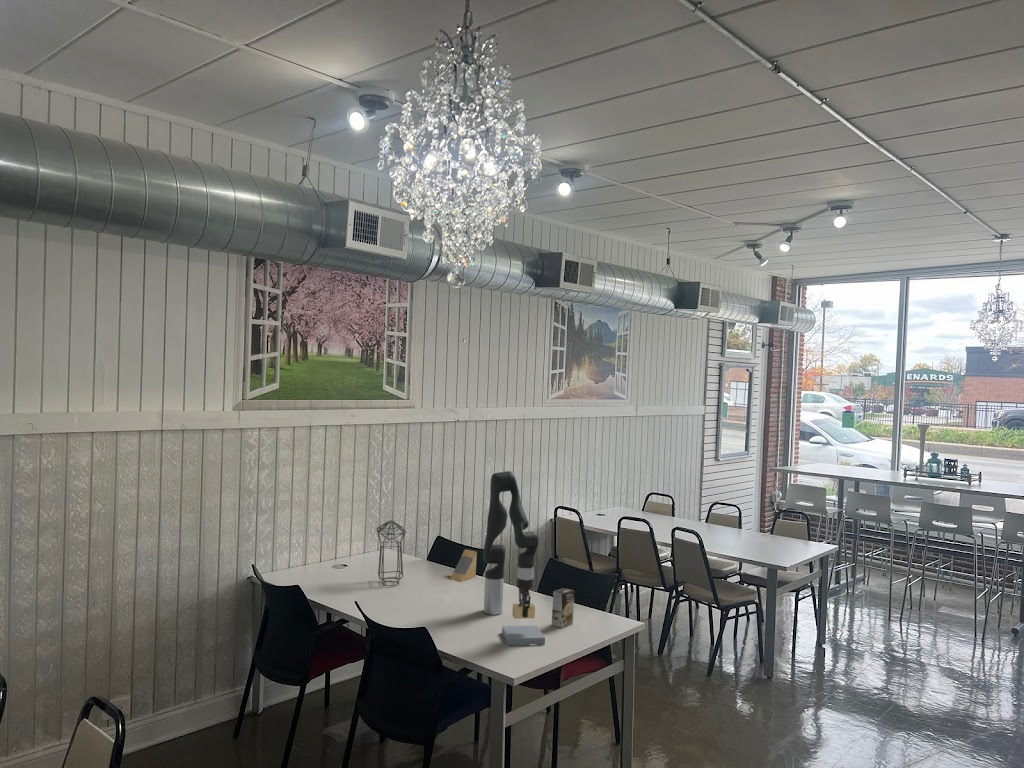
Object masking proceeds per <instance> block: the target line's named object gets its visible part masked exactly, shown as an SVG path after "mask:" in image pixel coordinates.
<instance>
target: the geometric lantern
mask: <svg viewBox="0 0 1024 768" xmlns="http://www.w3.org/2000/svg"><path fill="white" fill-rule="evenodd" d="M387 527H388V528H387ZM404 528H405V527H404V526H403V525H401V524H399V523H397V522H395V520H393V519H391V520H388V521H386V522H384V523H383V524H381V525H379V526H378V527H376V528H375V529H376V534H377V537H378V539H379V540H378V541H379V545H380V546H379V556H378V557H379V558H378V570H377V575H378V579H379V580H380V581H381V582H382V581H383V582H382V583H384V584H383V586H386V583H395V582H396V583H397V584H399V585H400V580H401V579H403V578H404V569H403V567H404V566H403V565H404V564H403V550H402V549H403V547H402V546H403V540H404V538H405V536H406V533H407V531H406V530H405V529H404ZM395 529H396V530H395ZM386 530H387V531H386ZM391 530H392V532H390V531H391ZM398 531H400V532H398ZM397 532H398V533H397ZM380 535H381V536H382V537H384V540H383V541H382V539H381V536H380ZM385 535H386V536H385ZM390 536H393V538H390ZM400 536H401V538H400V541H399V540H398V537H400ZM386 539H387V541H386ZM390 540H394V542H395V543H396V546H395V545H394V546H390V545H389V546H388V548H397V560H396V561H397V563H396V564H397V565H396V570H393V571H391V570H390V571H385V562H384V561H385V559H384V558H385V547H386V545H387V543H389V542H390ZM387 573H395V576H389V577H387V576H386V577H385V576H384V575H385V574H387ZM392 580H397V581H392Z"/></svg>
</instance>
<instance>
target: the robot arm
mask: <svg viewBox="0 0 1024 768" xmlns="http://www.w3.org/2000/svg"><path fill="white" fill-rule="evenodd" d="M504 492H505V493H506V492H510V494H511V501H510V505H509V510H507V509H506V507H505V506H504V504H503V503H502V501H501V500H500V495H501V493H504ZM489 494H490V495H489V507H488V515H487V525H486V536H485V540H484V545H483V552H482V553H483V554H482V558H483V562H484V563H485V564H489V565H490V564H492V565H493V564H494V565H495V566H494V567H492V568H489V569H487V570H486V571H485V573H484V597H483V613H484V614H487V615H491V616H496V615H497V614H498V615H501V614H502V613H503V603H504V585H505V584H504V582H505V581H504V580H505V578H504V577H505V563H506V554H507V553H506V546H505V545H503V544H494V542H495V541H496V539H497V538H498V537H499V536H500V534H502V532H503V531H504V530H505V529H506V527H507V522H508V515H509V518H510V522H511V524H512V526H513V532H514V543H515V545H516V546H517V547H518V548H519V549H525V551H523V552H521V553H519V554H518V560H517V570H516V588H518V602H519V604H523V615H522V616H523V617H528V609H529V608H530V604H531V598H532V597H531V593H530V592H529V591H530V590H532V589H534V584H535V583H534V581H535V580H534V579H535V571H534V568H535V567H534V565H535V556H536V554H537V553H536V552H537V550H538V546H539V542H540V540H539V535H538V533H537V532H536V531H533V530H531V531H524V530H527V528H528V527H529V525H530V523H529V520H528V518H527V515H526V512H525V509H524V508H523V504H522V499H521V496H520V495H521V494H520V491H519V486H518V481H517V479H516V475H515V474H514V473H513V472H512V471H510V470H508V471H501V472H495V473H492V475H491V478H490V493H489ZM507 511H508V512H507ZM526 604H527V606H525V605H526Z"/></svg>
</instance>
